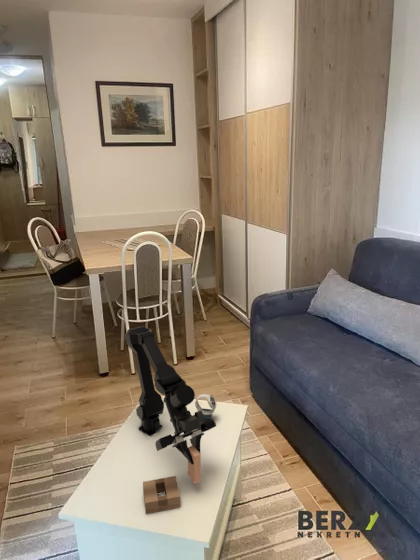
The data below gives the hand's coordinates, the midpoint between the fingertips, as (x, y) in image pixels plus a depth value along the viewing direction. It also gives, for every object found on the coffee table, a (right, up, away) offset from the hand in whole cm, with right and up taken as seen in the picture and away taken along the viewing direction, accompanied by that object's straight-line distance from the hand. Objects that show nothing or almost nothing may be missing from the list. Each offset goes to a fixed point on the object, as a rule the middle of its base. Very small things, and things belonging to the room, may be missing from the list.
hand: (196, 462), depth 121 cm
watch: (+2, 0, +36) cm, 36 cm away
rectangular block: (-1, -6, +3) cm, 7 cm away
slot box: (-10, -11, 0) cm, 15 cm away
